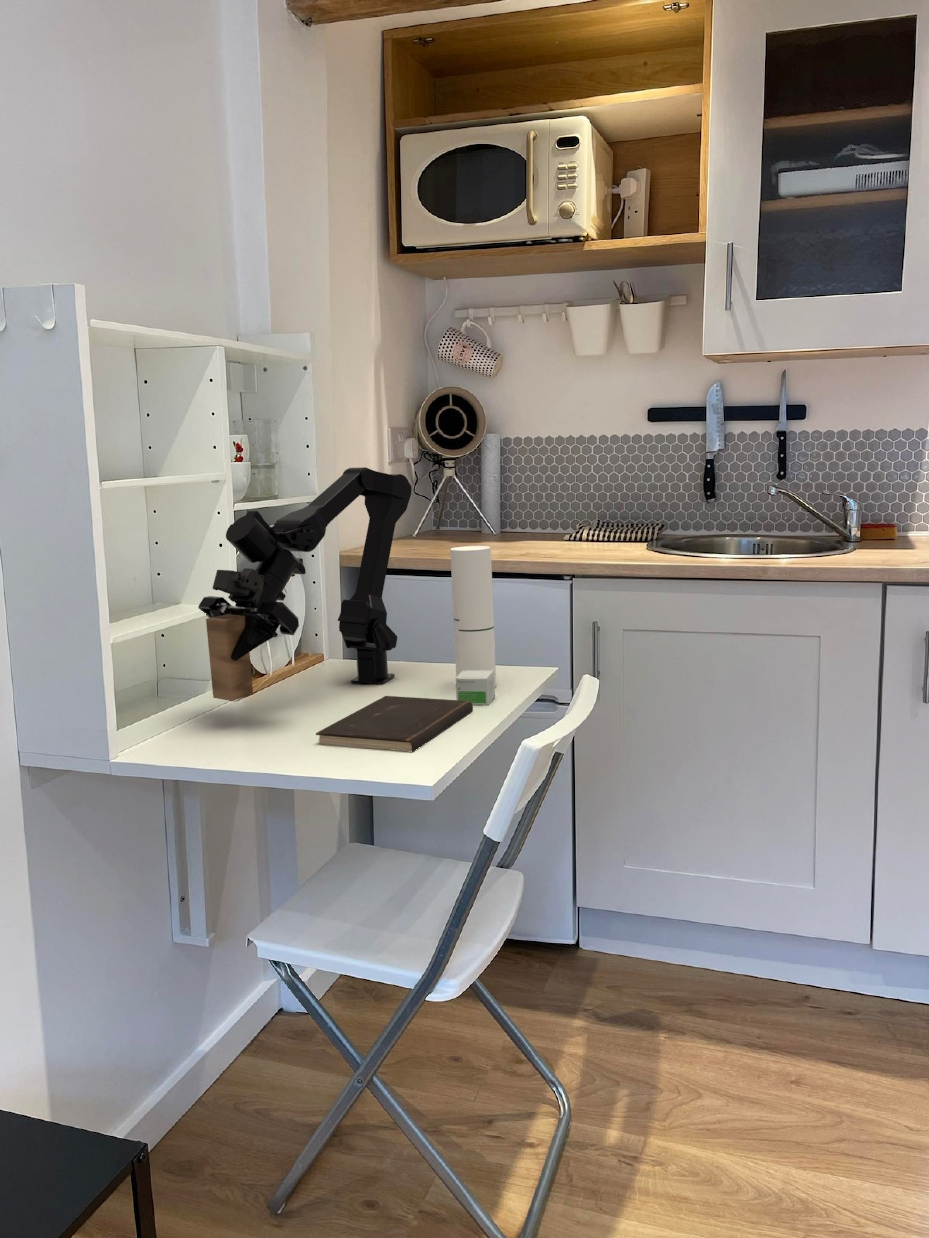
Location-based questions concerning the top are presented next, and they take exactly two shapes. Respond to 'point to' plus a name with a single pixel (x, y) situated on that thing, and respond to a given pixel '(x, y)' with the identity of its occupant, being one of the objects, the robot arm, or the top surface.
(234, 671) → the walnut block
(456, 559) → the cylindrical container
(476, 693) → the small box
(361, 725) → the hardcover book
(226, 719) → the top surface
